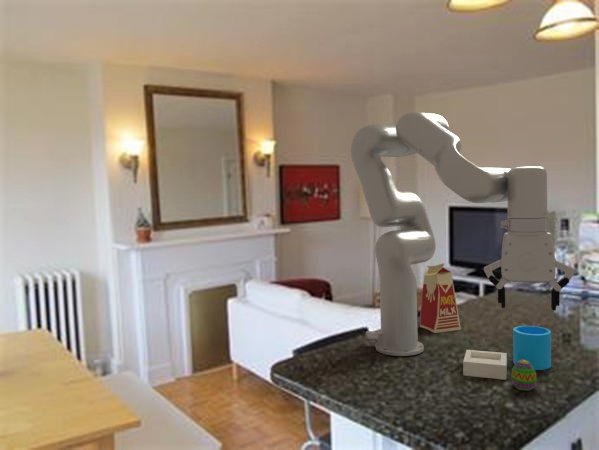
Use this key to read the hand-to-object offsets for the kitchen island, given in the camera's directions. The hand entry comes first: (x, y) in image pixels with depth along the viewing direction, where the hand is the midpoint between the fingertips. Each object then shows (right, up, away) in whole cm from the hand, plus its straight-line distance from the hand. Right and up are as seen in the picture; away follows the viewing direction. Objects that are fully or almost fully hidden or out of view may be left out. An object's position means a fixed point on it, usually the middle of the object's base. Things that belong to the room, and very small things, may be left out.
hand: (528, 307), depth 108 cm
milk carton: (-6, -14, +48) cm, 51 cm away
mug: (+8, -16, +17) cm, 24 cm away
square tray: (-5, -16, +11) cm, 20 cm away
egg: (-1, -17, +1) cm, 17 cm away
